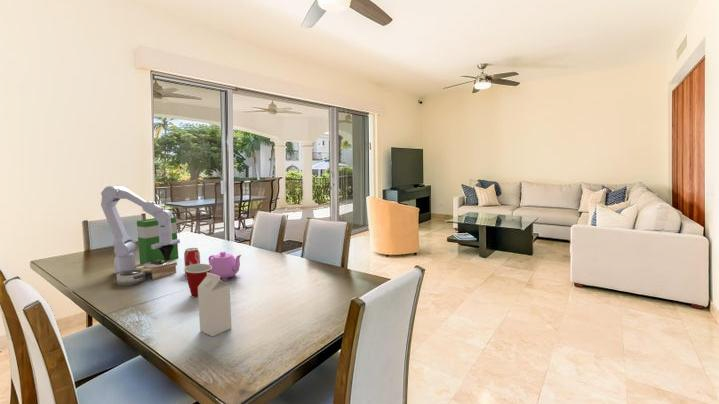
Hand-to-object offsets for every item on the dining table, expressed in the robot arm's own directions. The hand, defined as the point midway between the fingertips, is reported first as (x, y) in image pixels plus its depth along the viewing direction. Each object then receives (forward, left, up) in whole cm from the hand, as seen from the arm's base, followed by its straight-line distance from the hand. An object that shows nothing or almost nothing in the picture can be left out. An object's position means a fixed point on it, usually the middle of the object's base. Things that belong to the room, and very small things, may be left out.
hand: (167, 259), depth 179 cm
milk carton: (+73, -36, -6) cm, 82 cm away
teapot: (+35, +5, -6) cm, 36 cm away
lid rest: (0, -6, -6) cm, 8 cm away
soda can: (+14, +4, -6) cm, 16 cm away
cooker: (0, -18, -6) cm, 19 cm away
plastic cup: (+42, -16, -6) cm, 46 cm away
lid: (0, -6, -1) cm, 6 cm away
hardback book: (-21, +11, -6) cm, 24 cm away
